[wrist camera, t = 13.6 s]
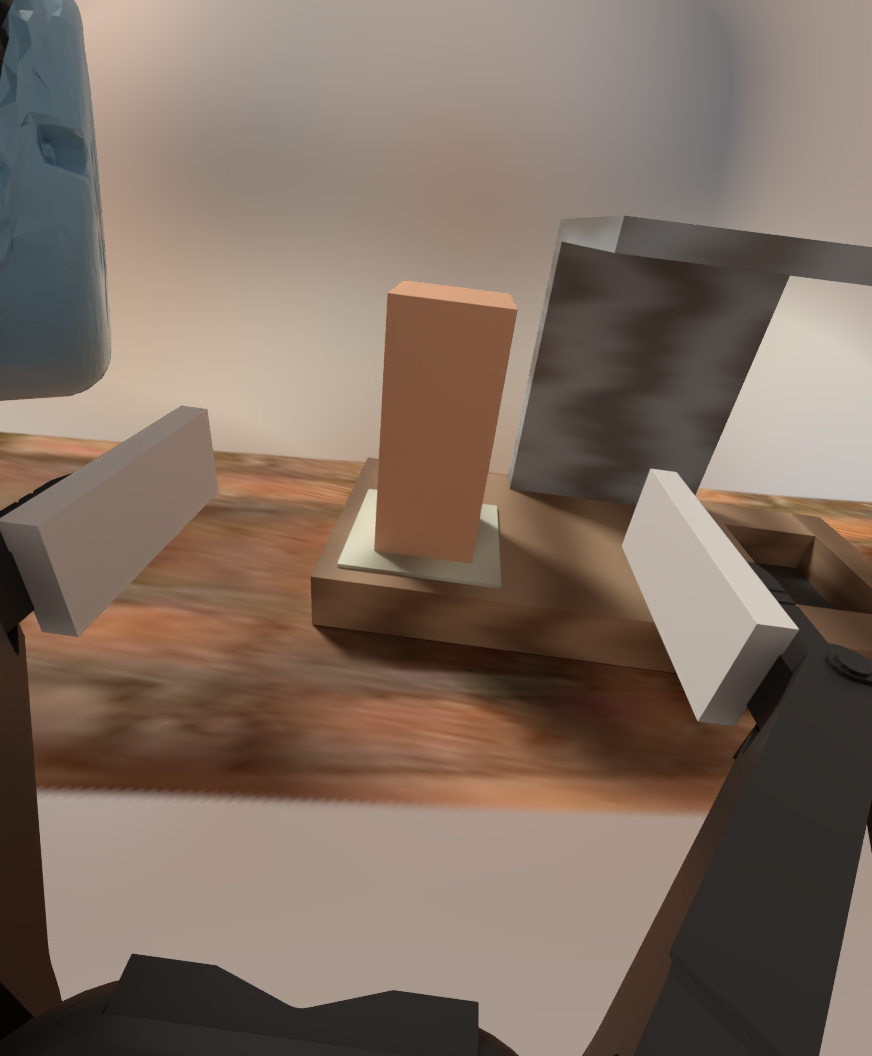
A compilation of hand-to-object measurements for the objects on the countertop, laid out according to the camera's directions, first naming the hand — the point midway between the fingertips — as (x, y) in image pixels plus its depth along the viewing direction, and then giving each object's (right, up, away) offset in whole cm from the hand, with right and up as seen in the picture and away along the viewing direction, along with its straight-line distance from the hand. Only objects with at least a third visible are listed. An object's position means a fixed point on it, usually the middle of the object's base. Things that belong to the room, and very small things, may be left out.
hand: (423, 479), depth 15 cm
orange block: (0, -2, +12) cm, 13 cm away
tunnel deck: (+11, -5, +16) cm, 20 cm away
